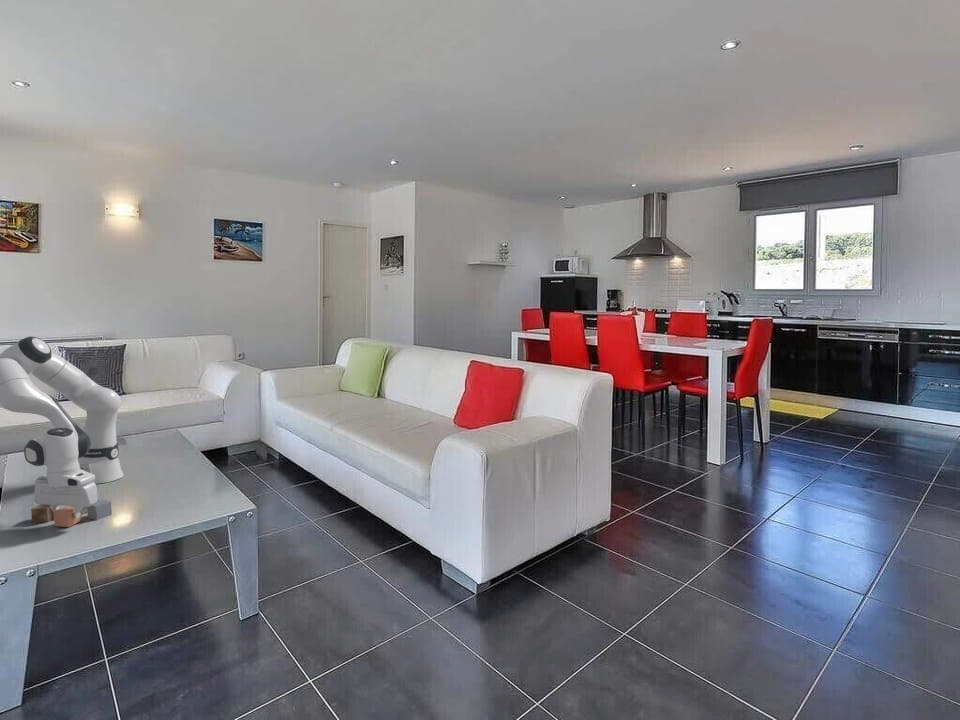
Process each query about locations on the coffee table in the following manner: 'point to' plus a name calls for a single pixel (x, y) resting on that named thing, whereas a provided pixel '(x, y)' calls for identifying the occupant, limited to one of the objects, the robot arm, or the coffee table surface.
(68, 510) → the terracotta cube
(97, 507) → the slate cube
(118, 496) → the coffee table surface
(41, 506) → the walnut cube
